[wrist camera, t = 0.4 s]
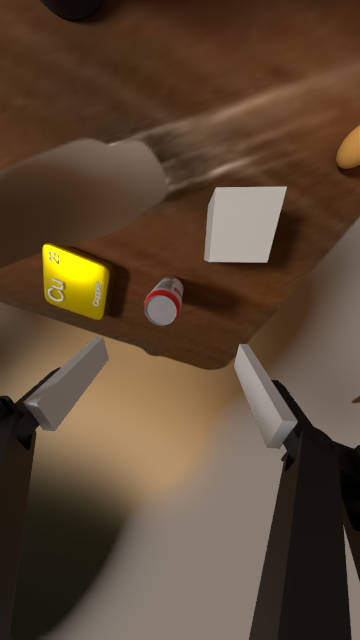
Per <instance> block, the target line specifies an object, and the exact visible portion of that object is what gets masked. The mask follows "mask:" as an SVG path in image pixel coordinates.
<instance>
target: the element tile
mask: <svg viewBox="0 0 360 640" xmlns="http://www.w3.org/2000/svg"><path fill="white" fill-rule="evenodd" d="M42 257H43V275H44V293H45V298H46V300H47V301H48V302H49V303H51V304H53V305H55V306H58V307H61V308H64V309H67V310H70V311H72V312H75V313H78V314H81V315H84V316H87V317H90V318H93V319H96V320H99V319H102V318H103V317H104V316H106V315H107V314H108V313H109V312H110V309H111V303H112V297H113V291H114V285H115V280H116V268H115V267H114V265H112V264H111V263H109V262H107V261H104V260H102V259H99V258H97V257H94V256H92V255H89V254H87V253H84V252H82V251H79V250H77V249H74V248H72V247H69V246H67V245H64V244H50V243H49V244H45V245H44V246H43V249H42Z"/></svg>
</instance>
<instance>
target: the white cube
mask: <svg viewBox="0 0 360 640" xmlns="http://www.w3.org/2000/svg"><path fill="white" fill-rule="evenodd" d="M286 188H287V187H225V188H216V189H215V191H214V193H213V196H212V198H211V200H210V203H209V205H208V216H207V229H206V242H205V255H204V260H206V261H208V262H263V263H267V261H268V258H269V254H270V250H271V246H272V242H273V238H274V234H275V231H276V227H277V223H278V219H279V215H280V211H281V207H282V204H283V200H284V196H285V192H286Z"/></svg>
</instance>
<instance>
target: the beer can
mask: <svg viewBox="0 0 360 640" xmlns="http://www.w3.org/2000/svg"><path fill="white" fill-rule="evenodd" d="M182 296H183V285H182V283H181V281H180V280H179V279H178V278H176V277H171V276H169V277H166V278H164V279H163V280H162V281H161V282H160V283H159V284H158V285H157V286H156V287H155V288H154V289H153V290H152V291H151V292H150V293H149V295H148V296H147V297H146V300H145V314H146V316H147V318H148V319H149V320H150V321H151V322H152V323H154V324H157V325H167V324H169V323H171V322H172V321H174V320H175V319H176V318H177V317H178V315H179V313H180V310H181V303H182Z"/></svg>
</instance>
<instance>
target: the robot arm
mask: <svg viewBox="0 0 360 640" xmlns="http://www.w3.org/2000/svg"><path fill="white" fill-rule="evenodd" d="M40 1H41V2H42V3H43V4H44V5H45V6H46V7H48V8H49V9H50V10H51V11H52V12H54V13H55V14H57V15H59V16H61V17H63V18H66V19H70V20H79V19H83V18H86V17H88V16H89V15H91V14H92V13H93V12H94V11H95V10H96V9H97V8H98V7H99V6H100V5H101V3H102V1H103V0H40ZM107 361H108V354H107V350H106V346H105V342H104V339H103V337H95V338H94V339H93V340H91V341H90V342H89V343H88V344H87V345H86V346H85V347H84V348H83V349H81V350H80V351H79V352H78V353H77V354H76V355H75V356H74V357H73V358H71V359H70V360H69V361H68V362H67V363H66V364H65V365H64V366H63V367H62V368H57V369H56V370H54V371H52V372H50V373H49V374H48V375H47V376H46V377H45V378H44V379H43V380H41V381H40V382H39V383H38V385H36V386H34V387H33V388H32V389H31V390H30V391H29V392H28V393H26V394H25V395H24V396H23V397H22V398H21V399H19V400H18V401H17V402H16V403H15V404H14V402H13V401H12V400H11V398H10V397H8V396H0V640H10V625H11V618H12V610H13V602H14V595H15V588H16V580H17V573H18V566H19V559H20V551H21V544H22V535H23V529H24V522H25V514H26V507H27V499H28V491H29V484H30V477H31V470H32V462H33V455H34V448H35V440H36V431H35V429H36V428H37V427H38V426H39V425H40V426H41V427H42V429H43V430H49V431H55V430H56V429H57V428H58V426H59V425H60V424H61V422H62V421H63V419H64V418H65V417H66V415H67V414H68V413H69V412H70V410H71V409H72V408H73V406H74V405H75V403H76V402H77V401H78V400H79V398H80V397H81V396H82V394H83V393H84V391H85V390H86V389H87V387H88V386H89V385H90V384H91V382H92V381H93V379H94V378H95V377H96V375H97V374H98V373H99V371H100V370H101V369H102V367H103V366H104V365H105V363H106V362H107ZM234 368H235V370H236V373H237V375H238V378H239V380H240V382H241V385H242V388H243V390H244V392H245V395H246V398H247V400H248V402H249V405H250V407H251V410H252V412H253V415H254V417H255V420H256V422H257V425H258V427H259V430H260V432H261V435H262V437H263V440H264V442H265V445H266V447H267V448H280V447H281V446H282V445H283V444H284V446H285V448H286V450H287V452H286V453H285V455H284V456H283V457H282V459H281V460H282V461H284V464H283V469H282V474H281V479H280V484H279V489H278V494H277V500H276V505H275V510H274V515H273V521H272V525H271V530H270V535H269V541H268V545H267V551H266V556H265V561H264V566H263V571H262V576H261V581H260V586H259V591H258V596H257V601H256V606H255V612H254V616H253V622H252V627H251V632H250V637H249V640H351V626H350V612H349V598H348V585H347V570H346V556H345V541H344V528H343V524H344V527H345V531H346V535H347V538H348V542H349V545H350V549H351V553H352V556H353V560H354V563H355V567H356V570H357V574H358V577H359V581H360V445H358V446H357V447H356V448H355V449H353V448H350V447H347V446H344V445H342V444H339V443H337V442H334V441H332V440H331V439H330V438H329V437H328V436H327V435H326V434H325V433H324V432H322V431H321V430H319V429H317V428H315V427H314V426H312V424H311V422H310V421H309V420H308V418H307V417H306V416H305V414H304V413H303V411H302V410H301V409H300V407H299V406H298V404H297V403H296V402H295V401H294V399H293V397H292V396H291V395H290V394H289V392H288V391H287V389H286V388H285V387H284V386H283V385H282V384H281V383H280V382H279V381H278V380H271V379H270V378H269V376H268V375H267V374H266V372H265V370H264V369H263V367H262V366H261V364H260V362H259V361H258V359H257V358H256V356H255V355H254V353H253V352H252V350H251V349H250V347H249V346H248V345H247V344H240V345H239V348H238V352H237V356H236V360H235V364H234Z"/></svg>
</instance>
